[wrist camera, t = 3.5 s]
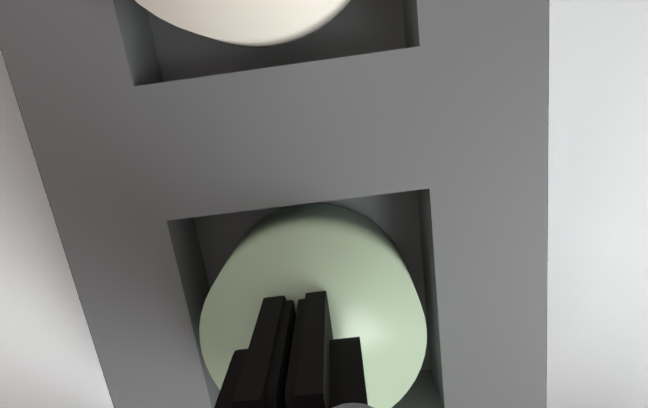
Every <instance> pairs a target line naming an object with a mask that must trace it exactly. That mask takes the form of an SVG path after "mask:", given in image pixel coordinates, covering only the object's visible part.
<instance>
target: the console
mask: <svg viewBox="0 0 648 408" xmlns="http://www.w3.org/2000/svg"><path fill="white" fill-rule="evenodd" d="M0 49H1V52H2V55H3V58H4V61H5V64H6V67H7V71H8V74H9V77H10V80H11V83H12V86H13V90H14V93H15V96H16V99H17V102H18V105H19V109H20V112H21V115H22V118H23V121H24V124H25V128H26V131H27V134H28V137H29V140H30V143H31V147H32V150H33V153H34V156H35V159H36V162H37V166H38V169H39V172H40V175H41V178H42V181H43V185H44V188H45V191H46V194H47V197H48V200H49V204H50V207H51V210H52V213H53V216H54V219H55V223H56V226H57V229H58V232H59V235H60V238H61V242H62V245H63V248H64V251H65V254H66V257H67V261H68V264H69V267H70V270H71V273H72V276H73V280H74V283H75V286H76V289H77V292H78V295H79V299H80V302H81V305H82V308H83V311H84V314H85V317H86V321H87V324H88V327H89V330H90V333H91V336H92V340H93V343H94V346H95V349H96V352H97V355H98V359H99V362H100V365H101V368H102V371H103V374H104V378H105V381H106V384H107V387H108V390H109V393H110V397H111V400H112V403H113V406H114V408H214V407H215V404H216V401H217V398H218V395H219V392H220V389H219V388H218V386H217V385H216V383H215V382H214V380H213V379H212V377H211V375H210V373H209V371H208V369H207V367H206V365H205V362H204V358H203V355H202V351H201V345H200V334H199V326H200V319H201V313H202V309H203V306H204V302H205V300H206V298H207V295H208V293H209V291H210V289H211V287H212V285H213V284H214V282H215V280H216V278H217V277H218V275H219V273H220V272H221V270H222V268H223V266H224V265H225V263H226V261H227V260H228V258H229V256H230V254H231V253H232V251H233V249H234V248H235V246H236V245H237V243H238V242H239V240H240V239H241V238H242V236H243V235H244V234H245V233H246V232H247V231H248V230H249V229H250V228H251V227H252V226H254V225H255V224H256V223H257V222H259V221H260V220H262V219H263V218H265V217H266V216H268V215H270V214H272V213H274V212H277V211H279V210H282V209H285V208H288V207H292V206H297V205H302V204H329V205H334V206H339V207H343V208H346V209H349V210H352V211H355V212H357V213H359V214H361V215H363V216H365V217H367V218H368V219H370V220H371V221H373V222H374V223H376V224H377V225H378V226H379V227H380V228H381V229H383V230H384V231H385V232H386V233H387V234H388V236H389V237H390V238H391V239H392V240H393V241H394V243H395V244H396V246H397V247H398V249H399V251H400V253H401V255H402V257H403V259H404V261H405V264H406V266H407V269H408V271H409V274H410V277H411V279H412V282H413V284H414V287H415V290H416V292H417V295H418V298H419V300H420V303H421V306H422V309H423V312H424V315H425V321H426V328H427V344H426V351H425V356H424V360H423V363H422V366H421V369H420V371H419V373H418V375H417V377H416V380H415V381H414V383H413V384H412V386H411V387H410V389H409V390H408V391H407V393H406V394H405V395H404V396H403V397H402V398H401V400H400V401H399V402H397V403H396V404H395V405H394V406H393V407H392V408H546V379H547V243H548V107H549V0H351V1H350V2H349V4H348V5H347V6H346V7H345V8H344V10H343V11H342V12H341V13H340V14H338V15H337V16H336V17H335V18H334V19H333V20H332V21H331V22H330V23H328V24H327V25H325V26H324V27H323V28H321V29H320V30H318V31H317V32H315V33H313V34H311V35H309V36H307V37H305V38H303V39H301V40H298V41H295V42H292V43H290V44H285V45H280V46H276V47H264V48H254V47H242V46H237V45H233V44H228V43H225V42H222V41H218V40H215V39H212V38H209V37H206V36H202V35H199V34H196V33H193V32H190V31H188V30H185V29H182V28H179V27H177V26H175V25H173V24H171V23H169V22H167V21H165V20H163V19H161V18H159V17H157V16H156V15H154V14H153V13H151V12H150V11H148V10H147V9H145V8H144V7H142V6H141V5H139V4H138V3H137V2H136V1H135V0H0Z"/></svg>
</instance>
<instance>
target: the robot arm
mask: <svg viewBox="0 0 648 408" xmlns="http://www.w3.org/2000/svg"><path fill="white" fill-rule="evenodd" d="M214 408H374V407H371V406H369V405H368V400H367V391H366V383H365V375H364V367H363V359H362V351H361V343H360V337H351V338H341V339H333V333H332V326H331V319H330V312H329V305H328V298H327V292H326V291H319V292H310V293H306V295H305V299H298V305H297V312H295V306H294V302H293V300H287V301H286V297H285V295H284V296H275V297H266V298H264V299H263V301H262V305H261V308H260V311H259V315H258V318H257V321H256V324H255V328H254V331H253V334H252V338H251V341H250V344H249V347H248V349H239V350H235V351H234V353H233V356H232V358H231V361H230V364H229V367H228V370H227V373H226V375H225V378H224V381H223V384H222V387H221V390H220V392H219V395H218V398H217V401H216V404H215V407H214Z"/></svg>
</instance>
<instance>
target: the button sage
mask: <svg viewBox="0 0 648 408" xmlns="http://www.w3.org/2000/svg"><path fill="white" fill-rule="evenodd" d="M319 291H326V292H327V298H328V305H329V312H330V319H331V326H332V333H333V339H341V338H351V337H360V343H361V351H362V359H363V367H364V375H365V383H366V391H367V400H368V405H369V406H371V407H374V408H392V407H393V406H394V405H395V404H396V403H397V402H399V401H400V400H401V398H402V397H403V396H404V395H405V394H406V393H407V391H408V390H409V389H410V387H411V386H412V384H413V383H414V381H415V380H416V377H417V375H418V373H419V371H420V369H421V366H422V363H423V360H424V356H425V351H426V344H427V328H426V321H425V315H424V312H423V309H422V306H421V303H420V300H419V298H418V295H417V292H416V290H415V287H414V284H413V282H412V279H411V277H410V274H409V271H408V269H407V266H406V264H405V261H404V259H403V257H402V255H401V253H400V251H399V249H398V247H397V246H396V244H395V243H394V241H393V240H392V239H391V238H390V237H389V236H388V234H387V233H386V232H385V231H384V230H383V229H381V228H380V227H379V226H378V225H377V224H376V223H374V222H373V221H371V220H370V219H368V218H367V217H365V216H363V215H361V214H359V213H357V212H355V211H352V210H349V209H346V208H343V207H339V206H334V205H329V204H302V205H297V206H292V207H288V208H285V209H282V210H279V211H277V212H274V213H272V214H270V215H268V216H266V217H265V218H263V219H262V220H260V221H259V222H257V223H256V224H255V225H254V226H252V227H251V228H250V229H249V230H248V231H247V232H246V233H245V234H244V235H243V236H242V238H241V239H240V240H239V242H238V243H237V245H236V246H235V248H234V249H233V251H232V253H231V254H230V256H229V258H228V260H227V261H226V263H225V265H224V266H223V268H222V270H221V272H220V273H219V275H218V277H217V278H216V280H215V282H214V284H213V285H212V287H211V289H210V291H209V293H208V295H207V298H206V300H205V302H204V306H203V309H202V313H201V319H200V326H199V334H200V345H201V351H202V355H203V358H204V362H205V365H206V367H207V369H208V371H209V373H210V375H211V377H212V379H213V380H214V382H215V383H216V385H217V386H218V388H219V389H220V390H221V387H222V384H223V381H224V378H225V375H226V373H227V370H228V367H229V364H230V361H231V358H232V356H233V353H234V351H235V350H239V349H248V347H249V344H250V341H251V338H252V334H253V331H254V328H255V324H256V321H257V318H258V315H259V311H260V308H261V305H262V301H263V299H264V298H266V297H275V296H284V295H285V297H286V301H287V300H293V302H294V306H295V312H297V305H298V299H305V295H306V293H310V292H319Z"/></svg>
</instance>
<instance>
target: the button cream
mask: <svg viewBox="0 0 648 408" xmlns="http://www.w3.org/2000/svg"><path fill="white" fill-rule="evenodd" d="M135 1H136V2H137V3H138V4H139V5H141V6H142V7H144V8H145V9H147V10H148V11H150V12H151V13H153V14H154V15H156V16H157V17H159V18H161V19H163V20H165V21H167V22H169V23H171V24H173V25H175V26H177V27H179V28H182V29H185V30H188V31H190V32H193V33H196V34H199V35H202V36H206V37H209V38H212V39H215V40H218V41H222V42H225V43H228V44H233V45H237V46H242V47H254V48H264V47H276V46H280V45H285V44H290V43H292V42H295V41H298V40H301V39H303V38H305V37H307V36H309V35H311V34H313V33H315V32H317V31H318V30H320V29H321V28H323V27H324V26H325V25H327V24H328V23H330V22H331V21H332V20H333V19H334V18H335V17H336V16H337V15H338V14H340V13H341V12H342V11H343V10H344V8H345V7H346V6H347V5H348V4H349V2H350V1H351V0H135Z"/></svg>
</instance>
